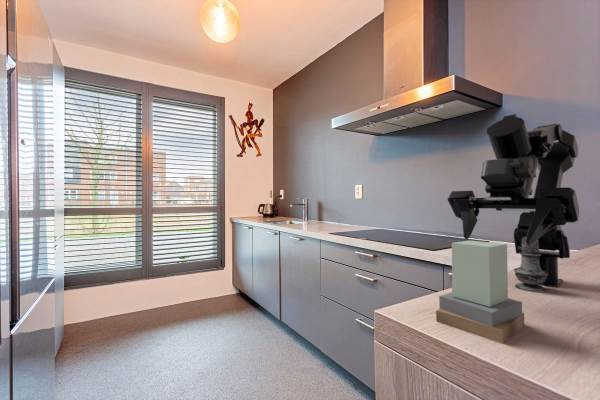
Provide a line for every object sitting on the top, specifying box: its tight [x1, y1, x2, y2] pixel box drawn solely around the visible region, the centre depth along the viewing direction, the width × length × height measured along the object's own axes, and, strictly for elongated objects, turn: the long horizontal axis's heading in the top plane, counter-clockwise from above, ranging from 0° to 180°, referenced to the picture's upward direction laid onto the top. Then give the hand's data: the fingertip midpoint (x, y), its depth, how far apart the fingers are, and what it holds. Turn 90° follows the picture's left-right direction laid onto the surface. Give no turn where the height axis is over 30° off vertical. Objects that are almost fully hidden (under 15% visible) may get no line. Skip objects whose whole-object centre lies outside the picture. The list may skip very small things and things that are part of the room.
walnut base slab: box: [435, 308, 525, 344], centre depth 44 cm, size 9×9×2 cm
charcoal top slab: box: [438, 292, 523, 327], centre depth 45 cm, size 8×8×2 cm
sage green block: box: [451, 240, 509, 307], centre depth 45 cm, size 6×6×8 cm
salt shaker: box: [513, 237, 548, 293], centre depth 61 cm, size 6×6×12 cm
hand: (494, 240), depth 49 cm, fingers open, 9 cm apart
